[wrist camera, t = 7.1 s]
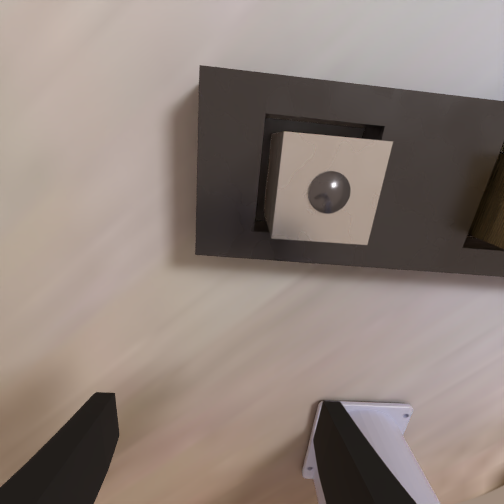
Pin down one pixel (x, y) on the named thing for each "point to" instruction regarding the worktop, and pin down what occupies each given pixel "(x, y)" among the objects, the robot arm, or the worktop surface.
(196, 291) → the worktop surface
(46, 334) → the worktop surface
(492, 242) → the yellow block with knob
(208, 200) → the dark grey socket board
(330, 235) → the cube with round knob
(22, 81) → the worktop surface
